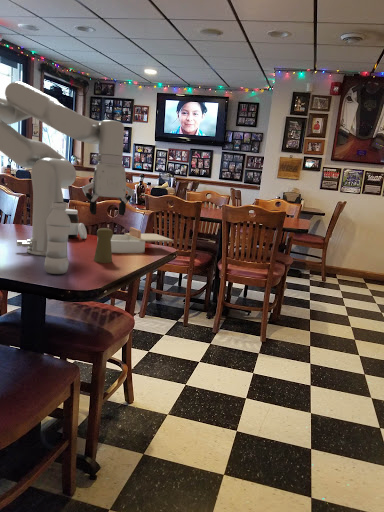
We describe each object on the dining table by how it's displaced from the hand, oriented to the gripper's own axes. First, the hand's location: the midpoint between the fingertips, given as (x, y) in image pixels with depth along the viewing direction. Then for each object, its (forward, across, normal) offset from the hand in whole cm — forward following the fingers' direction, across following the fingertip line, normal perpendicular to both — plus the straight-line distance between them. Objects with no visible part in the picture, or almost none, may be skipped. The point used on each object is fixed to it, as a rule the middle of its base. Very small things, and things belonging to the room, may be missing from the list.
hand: (107, 214), depth 131 cm
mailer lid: (+11, +26, +19) cm, 34 cm away
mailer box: (+16, +14, +20) cm, 28 cm away
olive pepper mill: (+16, -1, 0) cm, 16 cm away
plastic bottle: (+16, -20, -14) cm, 29 cm away
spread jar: (+15, +2, +44) cm, 47 cm away
